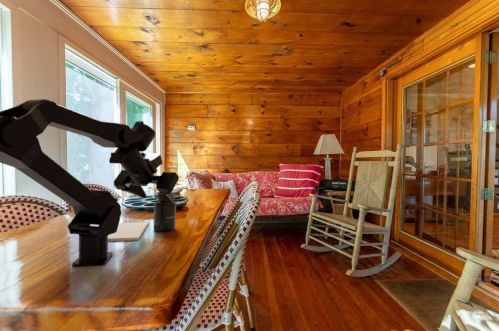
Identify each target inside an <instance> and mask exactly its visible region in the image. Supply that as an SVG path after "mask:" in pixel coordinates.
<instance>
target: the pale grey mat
mask: <svg viewBox="0 0 499 331" xmlns="http://www.w3.org/2000/svg"><path fill="white" fill-rule="evenodd" d="M149 223H150V222H149V221H148V222H147V221H143V222H139V221H138V222H119V225H118V228H117V232H116V233H113V234H110V235H108V242H124V241H125V242H128V241H140V239H141V237H142V236H143V234H144V233H145V231H146V229H147V228H148V226H149V225H150V224H149Z"/></svg>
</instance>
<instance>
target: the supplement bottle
mask: <svg viewBox="0 0 499 331" xmlns="http://www.w3.org/2000/svg"><path fill="white" fill-rule="evenodd" d="M157 199H158V200H157V201H155V202H154V205H153V209H154V210H153V230H154V231H156V232H160V233H161V232H162V233H164V232H165V231H167V232H172V231H174V230H175V229H176V219H177V218H176V216H177V214H176V213H177V204H176V202H175V201H174V200H173V199H174V193H173V192H172V199H171V200H168V199H167V198H165V197H164V196H162V195H161V194H159V192H158V193H157ZM171 230H172V231H171ZM165 233H166V232H165Z"/></svg>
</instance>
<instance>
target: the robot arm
mask: <svg viewBox="0 0 499 331" xmlns="http://www.w3.org/2000/svg"><path fill="white" fill-rule="evenodd" d="M48 126H49V127H52V128H56V129H59V130H62V131H66V132H70V133H73V134H77V135H79V136H83V137H86V138H88V139H90V140H91V141H92V142H93V143H94V144H96V145H98V146H100V147H102V148H107V149H109V148H110V149H111V148H113V149H116V150H115V151H114V152H110V156H109V159H108V160H109V162H108V163H109V164H118V165H120V166H121V167H122V168H123V169H121V171H120V172H119V174H118V175H117V176H116V177H115V179H114V181H113V186H114V188H115V189H116V190H119V191H122V192H126V193H129V194H131V195H134V196H137V197H140V198H142V199H146V197H147V193H146V192H145V190H144V188H143V187H147V186H148V185H149V184H153V185H154V184H155V185H156V187H155V188H156V190H157V192H158V193H159V194H161V195H162V196H164V197H165V198H167V199H168V200H171V199H172V193H173V191H174V188H175V186H176V184H177V183H178V181H179V179H180V176H179V175H178V173H177V172H175V171H162V173H161V174H160V175H155V174H156V173H157V172H158V169H157V168H159V167H160V166H161V165H163V163H164V162H163V159H162V154H161V153H157V152H156V153H155V152H154V153H153V152H149V153H145V152H146V150H147V149H148V148H149V147H150V144H152V142H153V141H154V139H155V137H156V135H157V134H156V131H155V129H154V128H152V127H151V126H149V125H148V124H146V123H144V121H143V120H141V121H140V120H137V121H135V122H134V123H133V126H132V127H130V125H128V124H124V123H118V122H111V121H110V122H109V121H108V122H107V121H102V120H99V119H96V118H94V117H92V116H89V115H86V114H83V113H81V112H78V111H76V110H73V109H70V108H67V107H65V106H64V105H63V106H62V105H59V104H58V103H56V102H55V101H54V100H51V99H46V98H44V99H28V100H26V101H24V102H22V103H20V104H17V105H16V106H12V107H10V108H7V109H4V110H1V111H0V164H3V165H6V166H10V167H13V168H15V169H16V170H18V171H20V172H21V173H23V174H24V175H26V176H27V177H28V178H30V179H31V180H32V181H34V182H36V183H37V184H39V185H40V186H41V187H43V188H45V189H46V190H47V191H49V192H51V193H52V194H54V195H55V196H56V197H58V198H60V199H61V200H63V201H64V202H65V203H67V204H69V205H70V206H71V207H72V210H73V213H74V217H73V218H72V219H71V221H70V222H69V223H68V225H67V230H68V231H69V234H71V235H78V258H76V259H75V260H74V261H73V262H72V263H71V266H72V267H78V266H79V267H81V266H82V267H83V266H98V265H99V266H100V265H105V264H106V263H107V262H108V261H109V260H110V258H111V257H112V256H113V252H111V251H109V241H108V235H110V234H113V233H116V232H117V228H118V225H119V223H120V220H121V216H122V206H121V204H120V203H119V200H120V199H118V198H116V197H114V195H112V193H111V192H110V191H108V190H98V189H97V190H96V189H90V188H88V187H87V186H86V185H85V184H83V183H82V182H81V181H80V180H78V179H77V177H75V176H74V175H72V174H71V173H70V172H69V171H67V170H66V169H65V168H63V167H62V166H61V165H60V164H59V163H57V162H56V161H55V160H53V159H52V158H51V157H50V156H49V155H47V154H46V153H45V152H44V151H43V150H42V147H41V145H40V144H41V143H40V141H39V138H38V136H40V135H42V133H44V131H45V130H46V129H47V127H48ZM172 200H173V199H172ZM96 225H97V226H96Z"/></svg>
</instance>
